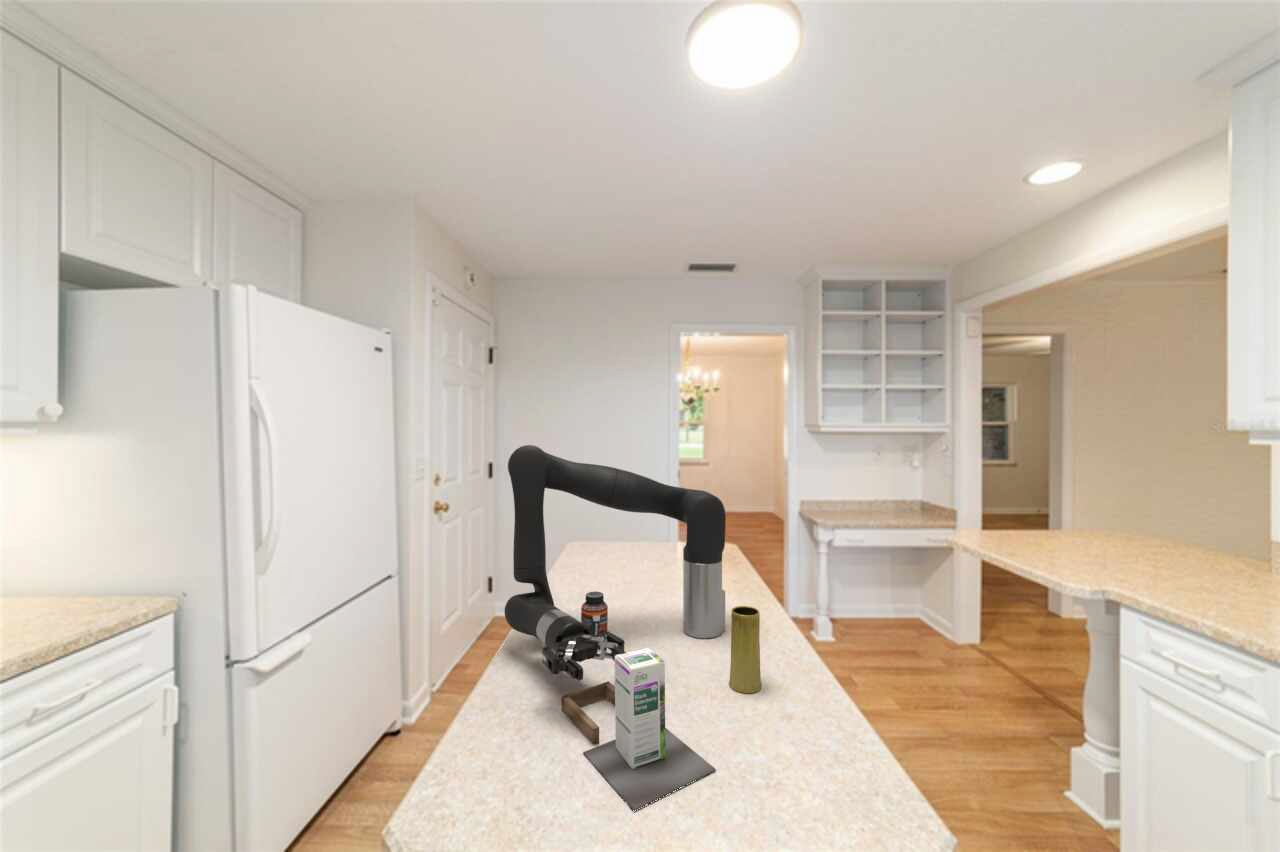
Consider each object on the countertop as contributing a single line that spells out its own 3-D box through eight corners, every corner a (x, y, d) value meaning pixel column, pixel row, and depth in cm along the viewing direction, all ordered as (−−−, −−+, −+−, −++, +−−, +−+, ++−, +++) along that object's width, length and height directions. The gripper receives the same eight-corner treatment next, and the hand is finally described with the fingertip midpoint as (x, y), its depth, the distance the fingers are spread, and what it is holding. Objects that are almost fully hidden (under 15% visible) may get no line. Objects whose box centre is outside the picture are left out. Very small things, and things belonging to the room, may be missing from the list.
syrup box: (631, 770, 74) (631, 669, 74) (614, 747, 79) (614, 653, 79) (666, 758, 77) (666, 660, 77) (647, 736, 82) (647, 645, 82)
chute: (549, 715, 89) (549, 700, 89) (619, 691, 96) (619, 677, 96) (634, 812, 67) (634, 792, 67) (715, 771, 74) (715, 753, 74)
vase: (763, 680, 100) (763, 607, 100) (759, 696, 95) (760, 618, 94) (731, 675, 102) (731, 603, 102) (726, 690, 97) (726, 614, 96)
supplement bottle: (603, 651, 113) (603, 599, 113) (577, 648, 114) (577, 597, 114) (610, 639, 119) (610, 590, 119) (585, 637, 120) (585, 588, 120)
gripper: (527, 623, 96) (565, 656, 83) (594, 608, 104) (639, 635, 91) (527, 663, 97) (565, 703, 83) (594, 645, 105) (639, 678, 91)
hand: (604, 667), depth 87 cm, fingers open, 8 cm apart
